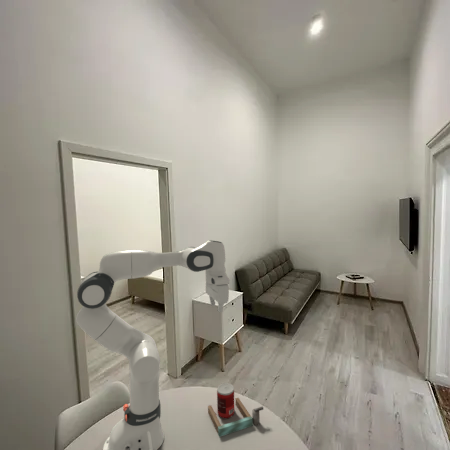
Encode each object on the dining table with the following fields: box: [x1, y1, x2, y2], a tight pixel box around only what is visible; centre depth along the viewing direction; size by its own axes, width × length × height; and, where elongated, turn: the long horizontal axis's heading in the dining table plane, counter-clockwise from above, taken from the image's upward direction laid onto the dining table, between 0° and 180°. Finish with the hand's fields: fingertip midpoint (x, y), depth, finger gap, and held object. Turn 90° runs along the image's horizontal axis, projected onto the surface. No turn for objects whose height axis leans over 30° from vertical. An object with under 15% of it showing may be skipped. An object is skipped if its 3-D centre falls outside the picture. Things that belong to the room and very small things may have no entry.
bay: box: [207, 397, 264, 438], centre depth 113 cm, size 20×15×6 cm
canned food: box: [216, 382, 235, 419], centre depth 116 cm, size 8×8×11 cm
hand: (216, 308), depth 113 cm, fingers open, 8 cm apart
